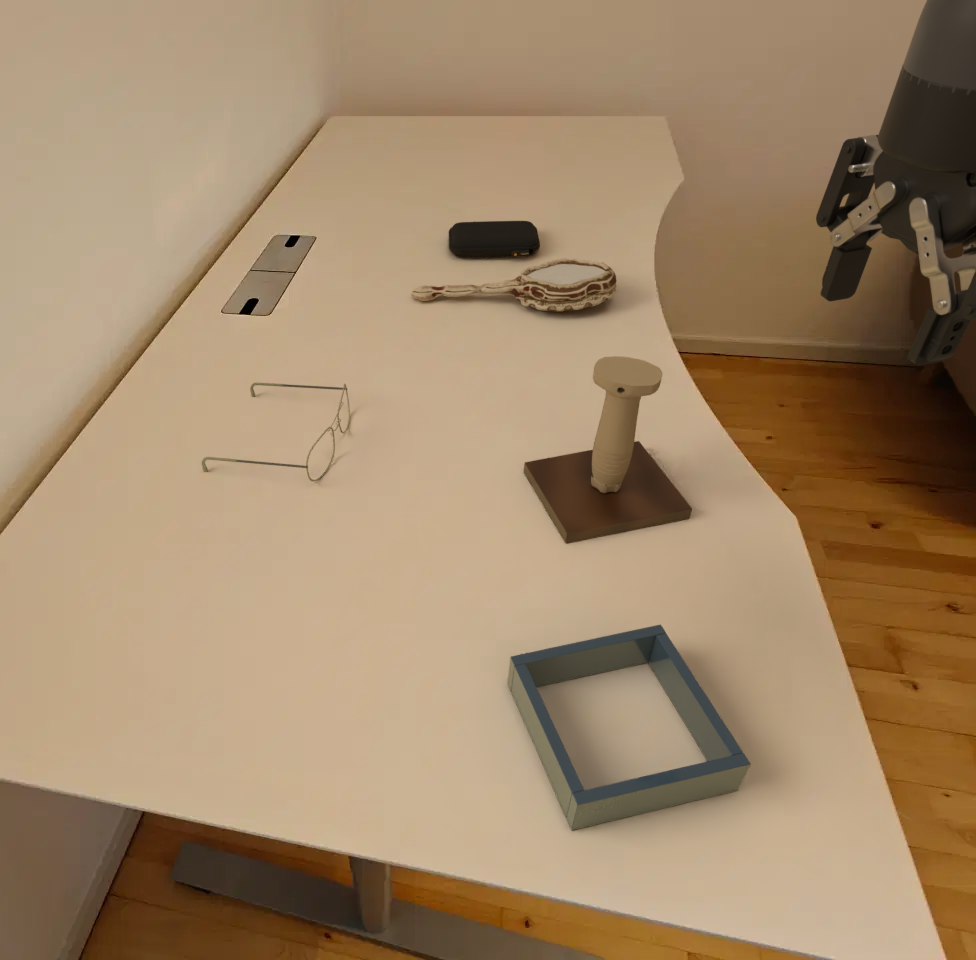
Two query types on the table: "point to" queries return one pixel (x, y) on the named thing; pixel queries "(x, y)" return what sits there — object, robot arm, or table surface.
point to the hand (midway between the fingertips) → (877, 327)
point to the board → (604, 496)
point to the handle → (619, 416)
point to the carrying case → (493, 239)
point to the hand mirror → (543, 286)
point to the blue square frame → (642, 792)
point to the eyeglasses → (314, 443)
